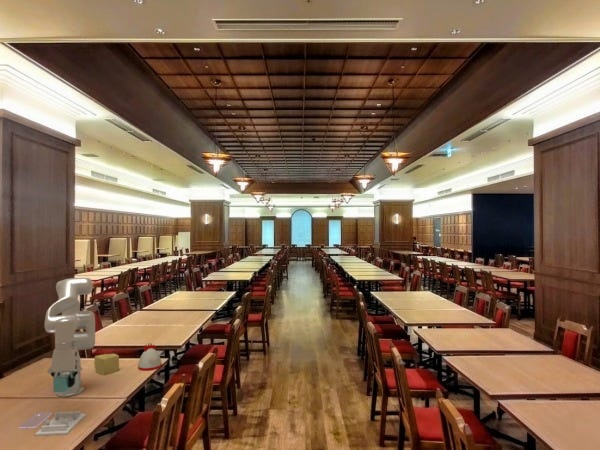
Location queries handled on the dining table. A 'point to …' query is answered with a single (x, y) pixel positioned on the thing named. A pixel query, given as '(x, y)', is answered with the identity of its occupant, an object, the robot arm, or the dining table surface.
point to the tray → (61, 423)
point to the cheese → (106, 363)
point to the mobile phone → (35, 420)
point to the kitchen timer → (149, 359)
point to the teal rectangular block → (62, 382)
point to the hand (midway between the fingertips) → (64, 386)
